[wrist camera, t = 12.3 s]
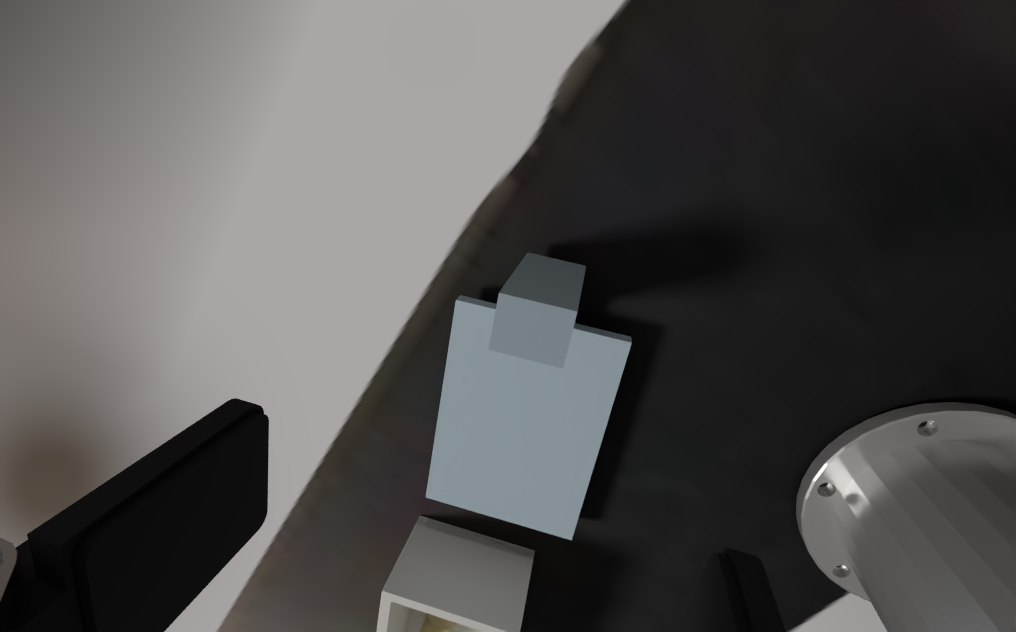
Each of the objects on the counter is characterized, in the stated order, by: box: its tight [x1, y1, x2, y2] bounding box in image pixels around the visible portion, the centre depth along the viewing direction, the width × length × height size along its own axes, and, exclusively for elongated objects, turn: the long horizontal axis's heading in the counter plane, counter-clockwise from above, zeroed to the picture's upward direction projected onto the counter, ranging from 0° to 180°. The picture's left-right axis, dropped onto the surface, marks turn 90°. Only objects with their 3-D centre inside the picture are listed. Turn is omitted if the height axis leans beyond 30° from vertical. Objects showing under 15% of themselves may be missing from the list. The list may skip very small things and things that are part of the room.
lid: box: [426, 253, 632, 540], centre depth 25 cm, size 9×16×8 cm, turn 169°
